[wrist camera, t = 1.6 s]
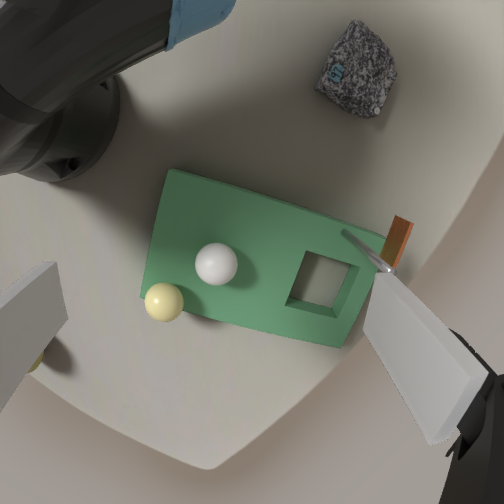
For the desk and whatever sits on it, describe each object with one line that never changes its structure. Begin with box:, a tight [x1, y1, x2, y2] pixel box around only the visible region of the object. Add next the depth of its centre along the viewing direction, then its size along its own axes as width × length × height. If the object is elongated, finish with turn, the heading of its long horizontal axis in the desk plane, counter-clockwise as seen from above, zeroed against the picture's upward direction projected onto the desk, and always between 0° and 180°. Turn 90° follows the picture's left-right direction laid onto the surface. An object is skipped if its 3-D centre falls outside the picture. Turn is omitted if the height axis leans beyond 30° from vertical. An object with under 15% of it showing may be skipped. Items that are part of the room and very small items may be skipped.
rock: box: [315, 20, 397, 119], centre depth 26 cm, size 8×10×4 cm
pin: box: [341, 215, 414, 276], centre depth 25 cm, size 1×4×11 cm, turn 163°
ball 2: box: [195, 243, 238, 286], centre depth 29 cm, size 4×4×4 cm
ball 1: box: [145, 282, 184, 322], centre depth 30 cm, size 4×4×4 cm
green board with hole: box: [140, 168, 386, 348], centre depth 33 cm, size 24×14×2 cm, turn 72°
